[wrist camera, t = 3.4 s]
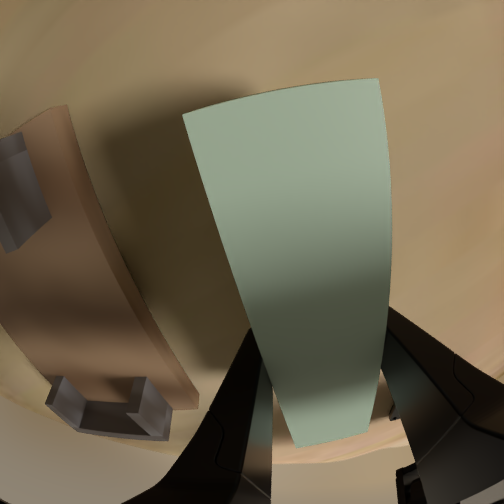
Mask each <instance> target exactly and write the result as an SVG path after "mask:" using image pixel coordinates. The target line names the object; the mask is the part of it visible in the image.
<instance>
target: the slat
mask: <svg viewBox="0 0 504 504" xmlns="http://www.w3.org/2000/svg"><path fill="white" fill-rule="evenodd" d="M182 116H183V120H184V123H185V126H186V130H187V133H188V136H189V140H190V143H191V146H192V149H193V153H194V156H195V159H196V162H197V166H198V169H199V172H200V175H201V178H202V181H203V185H204V188H205V191H206V194H207V197H208V200H209V203H210V207H211V210H212V213H213V216H214V219H215V222H216V225H217V228H218V231H219V234H220V237H221V240H222V243H223V246H224V249H225V252H226V255H227V258H228V261H229V264H230V267H231V270H232V273H233V276H234V279H235V282H236V285H237V288H238V291H239V294H240V296H241V299H242V302H243V305H244V308H245V311H246V314H247V317H248V319H249V322H250V325H251V328H252V331H253V334H254V336H255V339H256V342H257V345H258V348H259V350H260V353H261V356H262V358H263V361H264V364H265V367H266V370H267V372H268V375H269V378H270V381H271V383H272V386H273V389H274V391H275V394H276V397H277V400H278V402H279V405H280V408H281V410H282V413H283V415H284V418H285V421H286V423H287V426H288V429H289V431H290V434H291V436H292V439H293V442H294V444H295V447H296V448H300V447H306V446H311V445H316V444H321V443H326V442H330V441H334V440H339V439H343V438H347V437H350V436H354V435H358V434H361V433H365V432H367V431H368V427H369V423H370V419H371V414H372V410H373V405H374V401H375V396H376V391H377V386H378V380H379V375H380V369H381V362H382V356H383V349H384V342H385V334H386V326H387V317H388V306H389V294H390V279H391V257H392V201H391V179H390V164H389V152H388V142H387V133H386V125H385V117H384V110H383V103H382V97H381V91H380V85H379V80H378V78H371V79H353V80H340V81H330V82H322V83H314V84H307V85H301V86H295V87H289V88H283V89H278V90H272V91H267V92H263V93H258V94H253V95H249V96H245V97H240V98H236V99H232V100H228V101H224V102H221V103H217V104H213V105H210V106H206V107H203V108H200V109H197V110H194V111H191V112H188V113H185V114H183V115H182Z"/></svg>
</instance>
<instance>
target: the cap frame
mask: <svg viewBox="0 0 504 504" xmlns="http://www.w3.org/2000/svg"><path fill="white" fill-rule="evenodd" d="M0 323H1V325H2V326H3V328H4V329H5V330H6V332H7V333H8V334H9V336H10V337H11V338H12V340H13V341H14V342H15V343H16V345H17V346H18V347H19V348H20V350H21V351H22V352H23V353H24V355H25V356H26V357H27V358H28V359H29V360H30V362H31V363H32V364H33V365H34V366H35V367H36V368H37V370H38V371H39V372H40V373H41V374H42V375H43V376H44V377H45V378H46V379H47V380H48V381H49V383H50V384H51V385H52V387H51V390H50V392H49V395H48V397H47V400H46V402H45V405H47V406H48V407H49V408H50V409H51V410H52V411H53V412H54V413H55V414H57V415H58V416H59V417H60V418H61V419H62V420H64V421H65V422H66V423H67V424H69V425H70V426H71V427H72V428H73V429H75V430H76V431H77V432H82V433H87V434H93V435H100V436H108V437H116V438H125V439H136V440H151V441H169V433H170V425H171V418H172V411H173V410H190V409H198V404H199V393H198V391H197V390H196V388H195V387H194V385H193V384H192V382H191V381H190V379H189V378H188V376H187V375H186V373H185V371H184V370H183V368H182V367H181V365H180V363H179V362H178V360H177V359H176V357H175V355H174V354H173V352H172V350H171V349H170V347H169V345H168V344H167V342H166V340H165V339H164V337H163V335H162V333H161V332H160V330H159V328H158V326H157V325H156V323H155V321H154V319H153V317H152V315H151V314H150V312H149V310H148V308H147V306H146V304H145V302H144V301H143V299H142V297H141V295H140V293H139V291H138V289H137V287H136V285H135V283H134V281H133V279H132V277H131V275H130V273H129V271H128V269H127V267H126V265H125V262H124V260H123V258H122V256H121V254H120V252H119V250H118V247H117V245H116V243H115V241H114V238H113V236H112V234H111V231H110V229H109V227H108V224H107V222H106V220H105V217H104V215H103V212H102V210H101V207H100V205H99V202H98V200H97V197H96V194H95V192H94V189H93V186H92V184H91V181H90V178H89V175H88V173H87V170H86V167H85V164H84V161H83V158H82V155H81V152H80V149H79V146H78V142H77V139H76V136H75V133H74V129H73V126H72V122H71V119H70V115H69V111H68V107H67V105H63V106H57V107H53V108H49V109H48V110H46V111H44V112H43V113H41V114H39V115H38V116H36V117H35V118H33V119H32V120H30V121H29V122H27V123H26V124H24V125H23V126H21V127H20V128H18V129H17V130H15V131H14V132H13V133H11V134H10V135H8V136H7V137H5V138H2V139H0Z"/></svg>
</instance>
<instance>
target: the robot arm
mask: <svg viewBox="0 0 504 504" xmlns="http://www.w3.org/2000/svg"><path fill="white" fill-rule="evenodd" d="M381 370H382V372H383V374H384V377H385V379H386V382H387V384H388V387H389V390H390V392H391V395H392V397H393V400H394V405H393V407H392V410H391V412H390V415H389V419H390V421H393V420H396V419H399V418H400V419H401V421H402V424H403V427H404V430H405V433H406V435H407V438H408V441H409V444H410V447H411V450H412V453H413V456H414V459H415V463H413V464H411V465H409V466H407V467H404V468H400V469H398V470H396V477H397V478H396V487H397V497H398V504H504V384H502V383H501V382H499V381H497V380H496V379H494V378H492V377H491V376H489V375H487V374H485V373H484V372H482V371H481V370H479V369H477V368H476V367H474V366H473V365H471V364H470V363H468V362H467V361H466V360H464V359H463V358H461V357H460V356H459V355H457V354H454V352H453V351H452V350H450V349H449V348H448V347H446V346H445V345H443V344H442V343H441V342H439V341H438V340H436V339H435V338H434V337H432V336H431V335H429V334H428V333H427V332H425V331H424V330H422V329H421V328H420V327H418V326H417V325H415V324H414V323H413V322H411V321H410V320H408V319H407V318H405V317H404V316H403V315H401V314H400V313H398V312H397V311H395V310H394V309H393V308H391V307H390V306H388V317H387V326H386V334H385V342H384V349H383V356H382V362H381ZM209 410H210V411H207V413H206V415H205V417H204V419H203V421H202V423H201V425H200V426H199V428H198V430H197V432H196V433H195V435H194V436H193V438H192V439H191V441H190V442H189V444H188V445H187V447H186V448H185V449H184V451H183V452H182V454H181V455H180V456H179V458H178V459H177V460H176V462H175V463H174V464H173V466H172V467H171V469H170V470H169V471H168V473H167V474H166V475H165V476H164V477H163V478H162V479H161V481H159V482H158V483H157V484H156V485H155V486H153V487H151V488H150V489H148V490H146V491H144V492H143V493H141V494H139V495H137V496H135V497H133V498H131V499H130V500H127V501H126V502H124V503H121V504H271V500H270V499H271V476H272V415H273V388H272V383H271V381H270V378H269V375H268V372H267V370H266V367H265V364H264V361H263V358H262V356H261V353H260V350H259V348H258V345H257V342H256V339H255V336H254V334H253V331H252V328H250V329H249V330H248V332H247V334H246V336H245V338H244V340H243V342H242V344H241V346H240V348H239V350H238V352H237V354H236V356H235V358H234V360H233V362H232V364H231V366H230V368H229V370H228V372H227V374H226V376H225V378H224V380H223V382H222V384H221V386H220V388H219V390H218V392H217V394H216V396H215V398H214V400H213V402H212V404H211V406H210V408H209ZM0 504H9V503H8V502H6V501H4V500H2V499H0Z"/></svg>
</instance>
